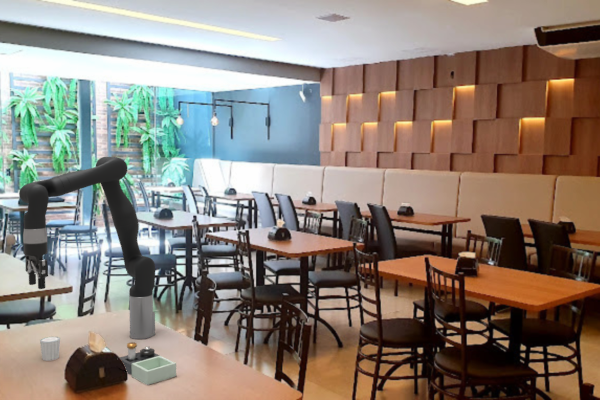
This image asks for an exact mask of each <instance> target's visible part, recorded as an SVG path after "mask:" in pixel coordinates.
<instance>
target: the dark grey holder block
mask: <svg viewBox="0 0 600 400" xmlns="http://www.w3.org/2000/svg"><path fill="white" fill-rule="evenodd" d="M157 356H161V355H160V354H157V353H156V352H155V349H154V348H152V347H150V346H145V347H144V348H142V349H140V350H139V352H136V360H135V361H131V362H129V361H128V354H127V355H124V356H123V355H122V356H120V357H118V358H120V359H121V360H122V362H123V363H124V365H125V367H126V370H127V372H128V373H127V374H128V375H130V376H132V363H135V362H139V361H142V360H146V359H150V358H153V357H157Z"/></svg>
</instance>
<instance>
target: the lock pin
mask: <svg viewBox="0 0 600 400" xmlns="http://www.w3.org/2000/svg"><path fill="white" fill-rule="evenodd" d="M137 346H138V345H137V342H136V341H134V342H133V341H132V342H128V343H126V347H127V355H128V361H129V362H131V361H135V360H136V353H137V351H136V348H137Z"/></svg>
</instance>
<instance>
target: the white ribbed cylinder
mask: <svg viewBox="0 0 600 400" xmlns="http://www.w3.org/2000/svg"><path fill="white" fill-rule="evenodd" d="M39 342H40V343H39V344H40V352H41V360H43V361H46V362H47V361H49V362H50V361H54V360H55V361H56V360H57V359H60V358H59V357H60V346H61V337H59V336H48V337H46V336H45V337H44V338H43V337H42V338H41V339H39Z"/></svg>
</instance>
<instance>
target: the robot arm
mask: <svg viewBox="0 0 600 400" xmlns="http://www.w3.org/2000/svg"><path fill="white" fill-rule="evenodd" d="M127 173H128V165H127V162H126V161H125V160H124V159H123V158H120V157H117V156H103V157H100V158H99V159H97V161H96V163H95V167H91V168H86V169H82V170H75V171H71V172H67V173H63V174H60V175H56V176H53V177H51V178H48V179H41V180H37V181H33V182H32V181H31V182H29V183H27V184H25V185H23V186H22V187H21V188H20V189H19V191H18V192H19V193H18V196H19V199H20V200H21V201H22V202H24V203H26V204H28V205H27V211H26V212H25V213H24V214H23V236H22V237H23V238H22V239H23V254H24V256H25V272H26V273H27V274H28V285H30V286H33V285H36V284H37V289H39V290H44V289H45V288H46V278H47V277H49V270H48V268H49V267H48V259H44V257H43V256H44V255H47V254H48V251H49V250H48V232H47V222H46V221H47V219H46V214H47V212H48V205H49V198H53V197H54V198H55V197H61V196H64V195H67V194H70V193H73V192H76V191H78V190H81V189H84V188H88V187H91V186H94V185H98V184H100V186H101V189H102V190H103V193H104V196H105V200H106V202H107V205H108V209H109V211H110V214H111V218H112V222H113V226H114V229H115V232H116V234H117V237H118V241H119V244H120V248H121V252H122V257H123V258H122V259H123V262H124V268H125V272H126V273H127V275H129V276H130V277H132V278H134V284H133V285H134V286H131V287H130V288H129V290H128V291H129V293H128V294H129V295H128V296H129V337H130V338H131V339H135V340H143V339H149V338H151V337H153V336H155V335H156V313H155V311H154V302H153V301H154V295H153V294H154V289H155V284H156V265H155V261H154V260H153V259H152V257H149V256H146V255H143V254H142V252H141V249H140V246H139V243H138V235H139V229H140V227H139V226H140V224H139V220H138V219H139V218H138V216H137V212H136V210H135V207H134V205H133V203H132V202H131V201H130V199H129V197H127V195H126V194H125V192H124V190H123V188H122V186H121V182H120V180H122V179H123V178H124V177H126V175H127Z"/></svg>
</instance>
